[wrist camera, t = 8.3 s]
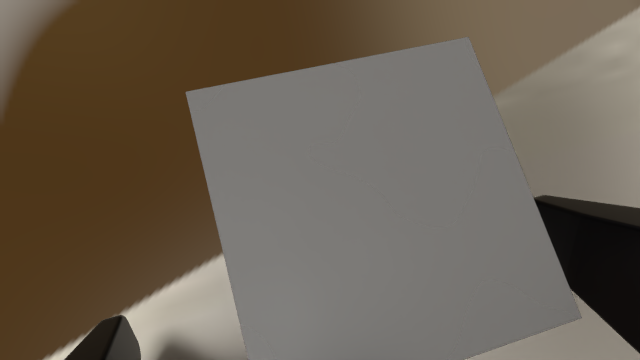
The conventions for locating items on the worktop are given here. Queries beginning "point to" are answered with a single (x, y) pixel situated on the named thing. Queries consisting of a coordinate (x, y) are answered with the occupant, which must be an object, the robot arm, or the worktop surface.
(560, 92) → the worktop surface
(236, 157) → the billet
